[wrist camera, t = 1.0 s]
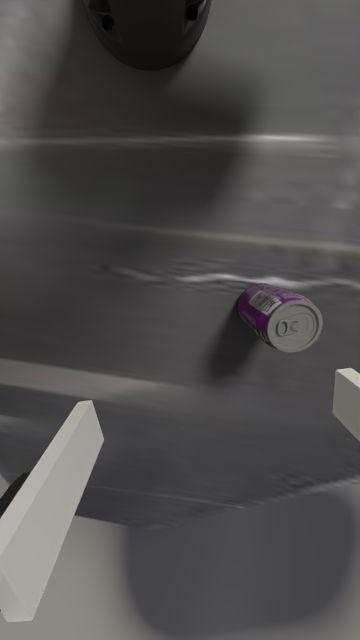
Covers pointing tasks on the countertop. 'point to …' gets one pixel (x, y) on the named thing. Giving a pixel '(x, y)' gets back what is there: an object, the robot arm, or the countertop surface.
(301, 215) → the countertop surface
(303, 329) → the beverage can
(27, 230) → the countertop surface
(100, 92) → the countertop surface
